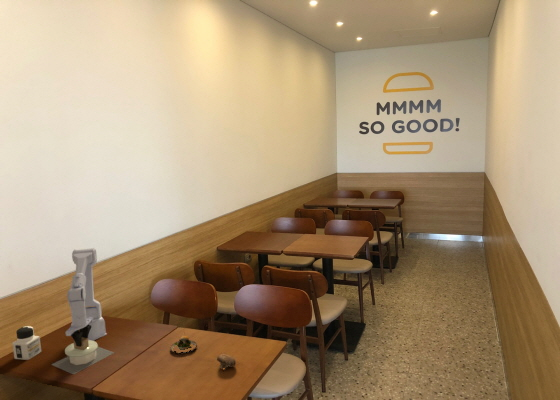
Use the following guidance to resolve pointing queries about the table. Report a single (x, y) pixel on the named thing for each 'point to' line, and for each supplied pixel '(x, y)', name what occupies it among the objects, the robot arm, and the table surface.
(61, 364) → the mat
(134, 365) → the table surface
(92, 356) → the bowl
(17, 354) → the container
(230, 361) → the mushroom
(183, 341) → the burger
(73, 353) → the lid
